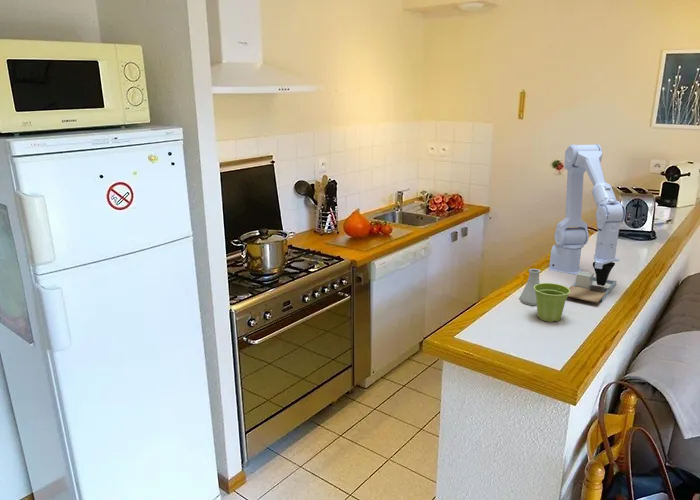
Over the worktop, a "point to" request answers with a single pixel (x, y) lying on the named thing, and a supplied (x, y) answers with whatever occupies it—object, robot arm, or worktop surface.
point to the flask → (530, 288)
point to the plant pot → (550, 300)
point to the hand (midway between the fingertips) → (601, 284)
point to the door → (587, 293)
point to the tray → (607, 287)
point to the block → (584, 279)
